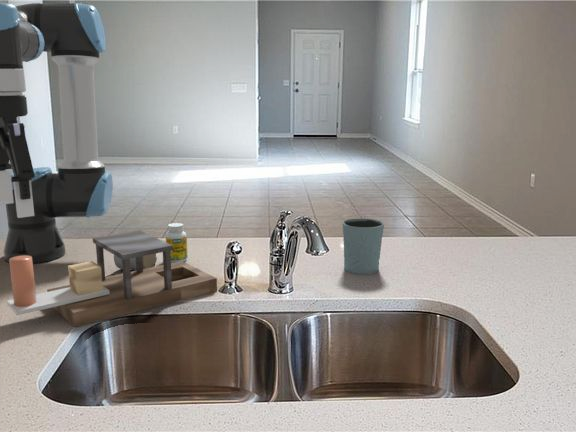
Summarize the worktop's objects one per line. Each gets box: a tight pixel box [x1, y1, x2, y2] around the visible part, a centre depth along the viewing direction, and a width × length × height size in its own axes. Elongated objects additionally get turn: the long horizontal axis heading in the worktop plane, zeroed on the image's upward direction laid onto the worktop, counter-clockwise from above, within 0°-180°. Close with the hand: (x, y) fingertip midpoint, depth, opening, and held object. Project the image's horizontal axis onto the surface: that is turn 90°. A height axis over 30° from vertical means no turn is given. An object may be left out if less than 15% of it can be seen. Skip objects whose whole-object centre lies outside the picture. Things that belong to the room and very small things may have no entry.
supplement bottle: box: [165, 222, 188, 263], centre depth 154 cm, size 5×5×10 cm
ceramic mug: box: [113, 253, 158, 271], centre depth 148 cm, size 11×8×8 cm
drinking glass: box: [342, 217, 385, 275], centre depth 147 cm, size 10×10×12 cm
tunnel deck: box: [46, 230, 218, 328], centre depth 128 cm, size 16×32×12 cm, turn 129°
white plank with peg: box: [6, 255, 110, 316], centre depth 118 cm, size 7×18×10 cm, turn 129°
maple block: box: [67, 260, 103, 295], centre depth 121 cm, size 5×5×5 cm
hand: (15, 210), depth 110 cm, fingers open, 13 cm apart
